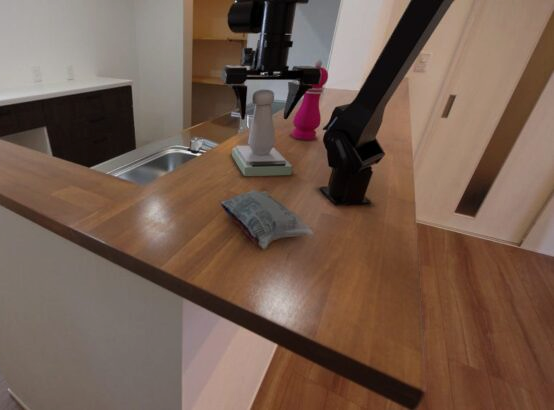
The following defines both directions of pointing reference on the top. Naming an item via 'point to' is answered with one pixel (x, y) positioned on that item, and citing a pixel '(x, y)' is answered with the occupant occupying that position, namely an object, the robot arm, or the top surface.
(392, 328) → the top surface
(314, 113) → the pepper mill
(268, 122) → the salt shaker
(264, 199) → the packaged food
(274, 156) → the scale
